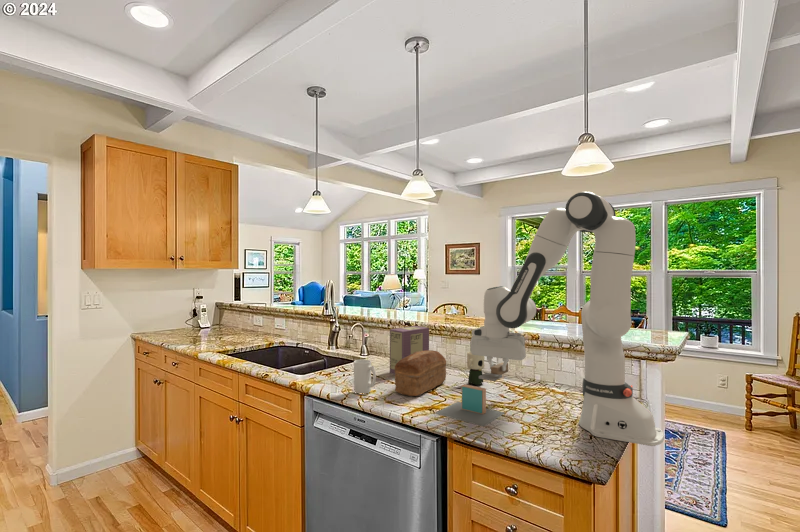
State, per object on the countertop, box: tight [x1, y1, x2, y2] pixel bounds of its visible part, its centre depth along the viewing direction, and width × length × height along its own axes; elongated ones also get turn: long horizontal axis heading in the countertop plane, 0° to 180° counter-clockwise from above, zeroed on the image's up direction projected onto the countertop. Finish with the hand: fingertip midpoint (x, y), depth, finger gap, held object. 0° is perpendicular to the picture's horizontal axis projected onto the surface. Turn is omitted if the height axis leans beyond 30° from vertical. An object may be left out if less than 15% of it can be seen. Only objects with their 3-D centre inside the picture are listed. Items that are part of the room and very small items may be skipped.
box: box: [389, 325, 430, 375], centre depth 193 cm, size 17×9×20 cm, turn 133°
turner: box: [479, 362, 509, 382], centre depth 148 cm, size 15×6×3 cm, turn 141°
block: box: [461, 384, 487, 414], centre depth 138 cm, size 8×2×8 cm, turn 51°
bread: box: [394, 349, 447, 397], centre depth 167 cm, size 12×28×14 cm, turn 147°
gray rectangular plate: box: [434, 401, 506, 427], centre depth 136 cm, size 18×15×1 cm
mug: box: [353, 358, 377, 394], centre depth 160 cm, size 10×7×12 cm, turn 53°
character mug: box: [466, 350, 486, 386], centre depth 172 cm, size 11×7×13 cm, turn 145°
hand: (497, 369), depth 149 cm, fingers closed on turner, 2 cm apart
